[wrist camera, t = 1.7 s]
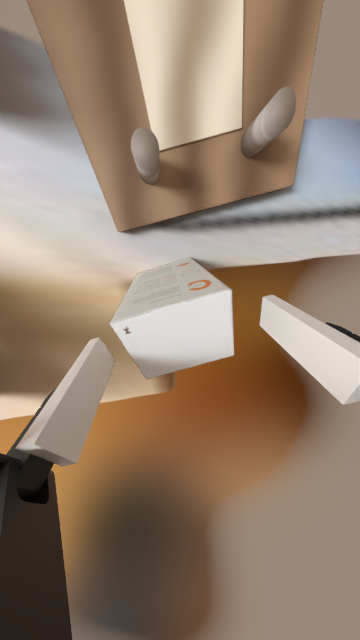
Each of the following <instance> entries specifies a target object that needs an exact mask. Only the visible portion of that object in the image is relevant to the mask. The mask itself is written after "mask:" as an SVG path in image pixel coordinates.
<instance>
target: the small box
mask: <svg viewBox="0 0 360 640" xmlns="http://www.w3.org/2000/svg"><path fill="white" fill-rule="evenodd" d="M110 325H111V327H112V328H113V329H114V331H115V332H116V334H117V335H118V337H119V339H120V340H121V342H122V343H123V345H124V346H125V348H126V349H127V351H128V352H129V354H130V355H131V357H132V358H133V360H134V361H135V363H136V364H137V366H138V367H139V369H140V371H141V372H142V373H143V375H144V376H145V378H146V379H150V378H154V377H157V376H161V375H164V374H168V373H172V372H175V371H179V370H182V369H186V368H190V367H193V366H197V365H201V364H204V363H208V362H211V361H215V360H219V359H222V358H226V357H230V356H234V339H233V338H234V337H233V336H234V335H233V299H232V289H231V288H229V287H228V286H226V285H225V284H224V283H223V282H221V281H220V280H219V279H217V278H216V277H215V276H214V275H212V274H211V273H210V272H208V271H207V270H206V269H205V268H203V267H202V266H201V265H199V264H198V263H197V262H196V261H194V260H193V259H192V258H187V259H183V260H180V261H176V262H173V263H170V264H166V265H163V266H160V267H156V268H153V269H150V270H147V271H143V272H140V273H137V275H136V277H135V279H134V280H133V282H132V284H131V286H130V288H129V290H128V291H127V293H126V295H125V297H124V299H123V300H122V302H121V304H120V306H119V308H118V309H117V311H116V313H115V315H114V317H113V318H112V320H111V322H110Z"/></svg>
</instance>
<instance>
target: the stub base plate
mask: <svg viewBox="0 0 360 640" xmlns="http://www.w3.org/2000/svg"><path fill="white" fill-rule="evenodd" d="M323 1H324V0H27V2H28V5H29V7H30V10H31V12H32V15H33V18H34V20H35V22H36V25H37V28H38V30H39V33H40V35H41V38H42V40H43V43H44V46H45V48H46V51H47V53H48V56H49V58H50V61H51V63H52V66H53V68H54V71H55V73H56V76H57V78H58V81H59V84H60V86H61V89H62V91H63V94H64V96H65V99H66V101H67V104H68V106H69V109H70V111H71V114H72V116H73V119H74V122H75V124H76V127H77V129H78V132H79V134H80V137H81V139H82V142H83V144H84V147H85V149H86V152H87V154H88V157H89V160H90V162H91V165H92V167H93V170H94V172H95V175H96V177H97V180H98V182H99V185H100V187H101V190H102V192H103V195H104V198H105V200H106V203H107V205H108V208H109V210H110V213H111V215H112V218H113V220H114V223H115V225H116V228H117V230H118V232H124V231H127V230H131V229H135V228H138V227H142V226H146V225H150V224H153V223H157V222H161V221H165V220H168V219H172V218H176V217H179V216H183V215H187V214H191V213H194V212H198V211H202V210H206V209H209V208H213V207H217V206H221V205H224V204H228V203H232V202H235V201H239V200H243V199H247V198H250V197H254V196H258V195H262V194H265V193H269V192H273V191H277V190H280V189H284V188H286V187H289V186H292V185H293V184H294V178H295V172H296V166H297V160H298V153H299V147H300V141H301V135H302V129H303V123H304V117H305V111H306V105H307V98H308V92H309V86H310V80H311V74H312V68H313V62H314V56H315V50H316V44H317V37H318V31H319V25H320V19H321V13H322V7H323Z"/></svg>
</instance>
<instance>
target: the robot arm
mask: <svg viewBox="0 0 360 640" xmlns="http://www.w3.org/2000/svg"><path fill="white" fill-rule="evenodd" d="M260 326H261V327H262V328H263V329H264V330H265V331H266V332H267V333H268V334H269V335H270V336H271V337H272V338H273V339H274V340H275V341H276V342H278V344H279V345H281V346H282V347H283V348H284V349H285V350H286V351H287V352H288V353H289V354H290V355H291V356H292V357H293V358H294V359H295V360H296V361H297V362H298V363H300V364H301V365H302V366H303V367H304V368H305V369H306V370H307V371H308V372H309V373H310V374H311V375H312V376H313V377H314V378H315V379H316V380H317V381H318V382H320V383H321V384H322V385H323V386H324V387H325V388H326V389H327V390H328V391H329V392H330V393H331V394H332V395H333V396H334V397H335V398H336V399H337V400H338V401H340V402H341V403H342V404H348V403H352V402H357V401H360V337H359V336H357V335H356V334H352V332H350V331H348V330H346V329H344V328H342V327H340V326H337V325H334V324H331V323H323V322H321V321H320V320H318V319H316V318H314V317H312V316H310V315H309V314H307V313H305V312H303V311H302V310H300V309H298V308H296V307H294V306H292V305H291V304H289V303H287V302H285V301H283V300H281V299H280V298H278V297H276V296H274V295H269V296H265V297H263V299H262V308H261V318H260ZM114 363H115V359H114V358H113V356H112V355H111V353H110V352H109V350H108V349H107V348H106V346H105V345H104V343H103V342H102V340H101V339H100V338H95V339H91V340H90V341H89V342H88V343H87V345H86V346H85V348H84V349H83V351H82V352H81V354H80V355H79V357H78V358H77V359H76V361H75V362H74V364H73V365H72V367H71V368H70V370H69V371H68V373H67V374H66V375H65V377H64V378H63V380H62V381H61V383H60V384H59V386H58V387H57V388H56V389H55V390H54V391H53V392H52V393H51V394H50V395H49V396H48V397H47V398H46V399H45V401H44V402H43V404H42V405H41V408H39V409H38V411H37V412H36V414H35V416H34V417H33V418H32V419H31V421H30V422H29V423H28V425H27V426H26V428H25V429H24V430H23V432H22V433H21V435H20V436H19V437H18V439H17V440H16V442H15V443H14V445H13V446H12V447H11V449H10V450H9V451H8V453H7V454H6V455H4V454H1V453H0V640H72V633H71V624H70V614H69V605H68V597H67V587H66V577H65V569H64V559H63V550H62V540H61V532H60V523H59V514H58V504H57V494H56V485H55V476H54V473H53V471H51V468H52V466H53V464H54V463H55V464H57V465H60V466H67V465H71V464H76V463H77V461H78V459H79V456H80V454H81V451H82V448H83V446H84V443H85V440H86V438H87V435H88V432H89V430H90V427H91V424H92V422H93V419H94V416H95V414H96V411H97V408H98V406H99V403H100V400H101V398H102V395H103V392H104V390H105V387H106V384H107V382H108V379H109V376H110V374H111V371H112V368H113V366H114Z"/></svg>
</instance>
